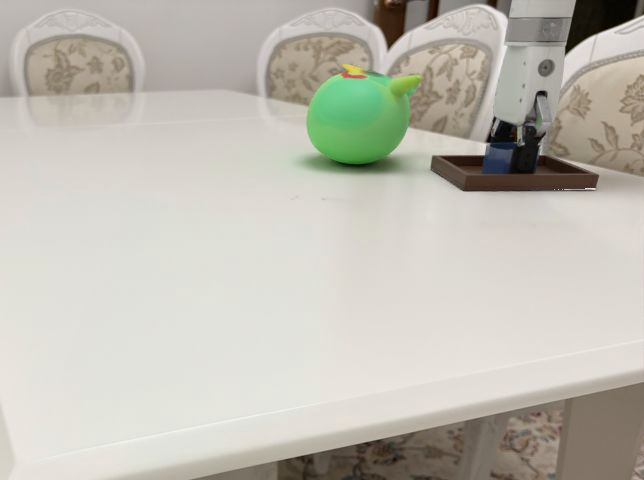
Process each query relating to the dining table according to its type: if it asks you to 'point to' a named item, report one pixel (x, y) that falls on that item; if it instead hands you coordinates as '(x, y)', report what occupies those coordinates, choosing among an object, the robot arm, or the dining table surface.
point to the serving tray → (512, 175)
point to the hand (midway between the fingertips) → (508, 169)
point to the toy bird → (360, 115)
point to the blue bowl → (500, 158)
